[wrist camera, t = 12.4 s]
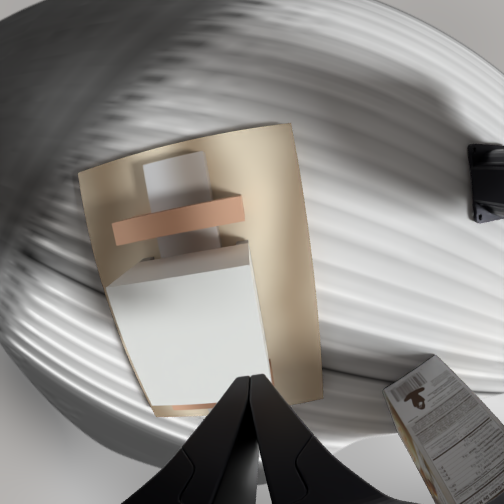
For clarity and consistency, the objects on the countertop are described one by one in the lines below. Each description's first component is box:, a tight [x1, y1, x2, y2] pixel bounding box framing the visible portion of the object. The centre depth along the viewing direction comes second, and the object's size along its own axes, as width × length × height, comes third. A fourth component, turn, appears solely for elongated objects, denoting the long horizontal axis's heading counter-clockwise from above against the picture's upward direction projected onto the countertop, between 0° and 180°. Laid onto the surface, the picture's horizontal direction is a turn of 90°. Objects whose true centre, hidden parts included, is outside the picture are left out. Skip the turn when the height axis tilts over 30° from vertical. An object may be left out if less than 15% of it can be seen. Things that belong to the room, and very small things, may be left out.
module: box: [106, 240, 272, 406], centre depth 15 cm, size 7×7×6 cm
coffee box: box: [383, 355, 504, 504], centre depth 14 cm, size 9×6×16 cm
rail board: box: [78, 123, 323, 417], centre depth 17 cm, size 14×20×4 cm
